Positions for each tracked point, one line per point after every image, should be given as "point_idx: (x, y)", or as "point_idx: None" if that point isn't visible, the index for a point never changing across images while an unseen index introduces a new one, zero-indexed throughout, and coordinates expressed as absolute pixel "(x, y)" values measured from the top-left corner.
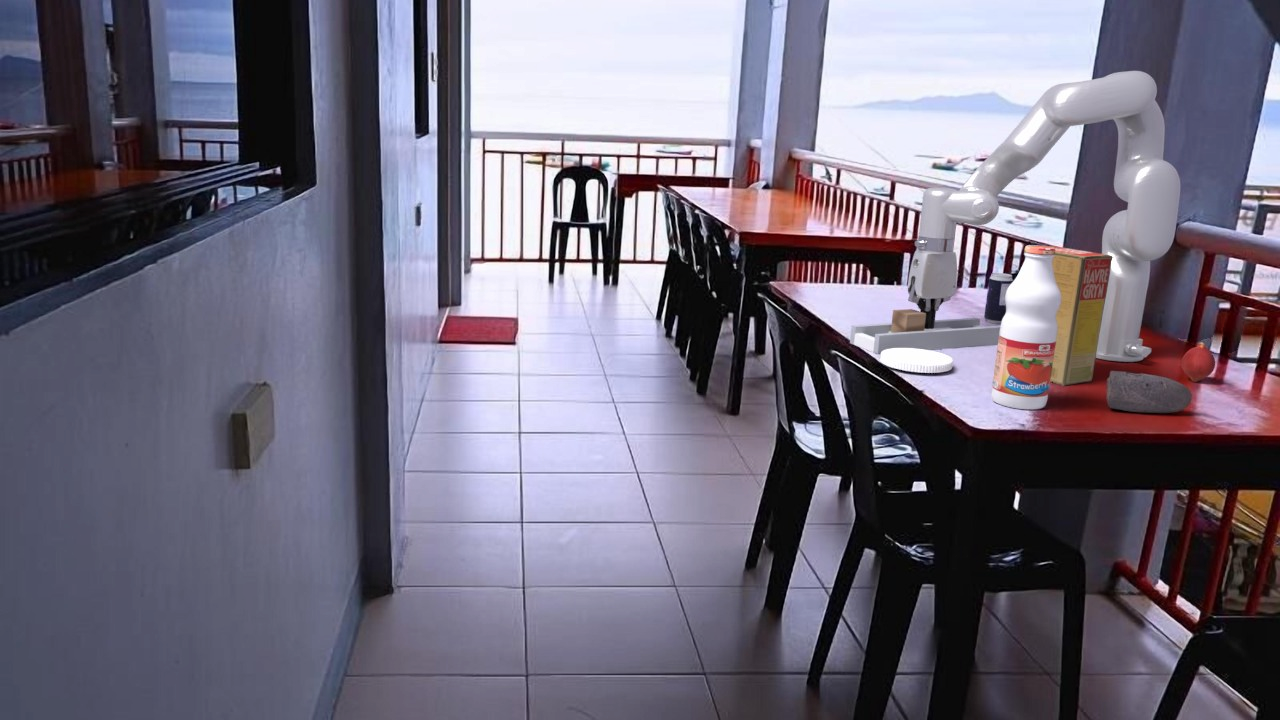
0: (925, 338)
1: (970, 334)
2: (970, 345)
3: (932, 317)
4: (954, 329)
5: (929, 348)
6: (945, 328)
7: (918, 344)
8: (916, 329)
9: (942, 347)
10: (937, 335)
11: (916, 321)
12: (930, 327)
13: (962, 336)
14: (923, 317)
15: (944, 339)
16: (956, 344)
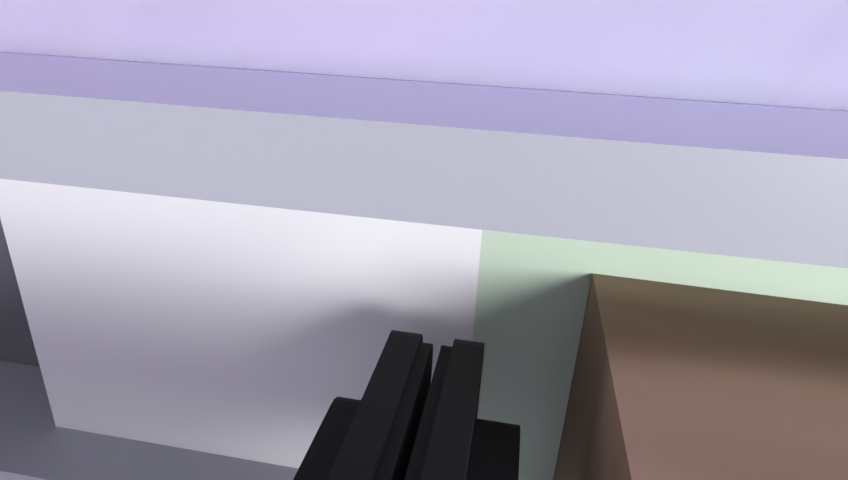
0: (737, 131)
1: (8, 77)
2: (86, 60)
3: (395, 439)
4: (182, 154)
5: (623, 97)
6: (112, 409)
7: (826, 121)
8: (748, 337)
9: (438, 84)
10: (525, 120)
11: (815, 423)
12: (430, 353)
13: (131, 82)
14: (680, 444)
15: (404, 100)
16: (248, 75)
